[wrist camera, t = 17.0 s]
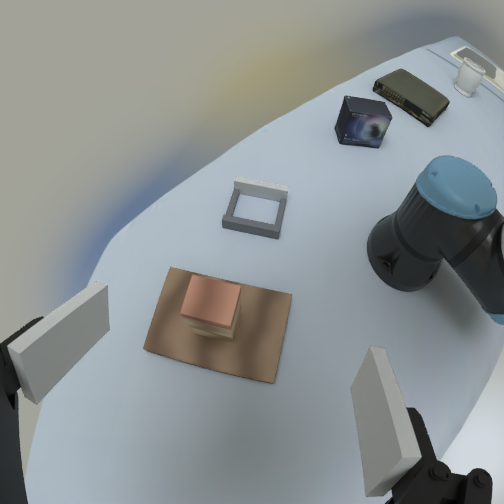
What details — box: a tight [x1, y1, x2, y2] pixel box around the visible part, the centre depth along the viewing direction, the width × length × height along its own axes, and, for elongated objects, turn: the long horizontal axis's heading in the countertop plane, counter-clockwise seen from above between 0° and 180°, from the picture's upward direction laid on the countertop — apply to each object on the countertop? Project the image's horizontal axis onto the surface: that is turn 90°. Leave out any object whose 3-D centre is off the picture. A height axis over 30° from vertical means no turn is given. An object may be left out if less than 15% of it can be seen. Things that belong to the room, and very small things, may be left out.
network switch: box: [373, 69, 450, 127], centre depth 78 cm, size 23×23×5 cm
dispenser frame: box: [222, 176, 289, 239], centre depth 55 cm, size 10×9×4 cm
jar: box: [454, 58, 485, 97], centre depth 83 cm, size 11×10×15 cm
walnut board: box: [143, 267, 292, 384], centre depth 46 cm, size 20×14×2 cm
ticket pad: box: [180, 275, 241, 343], centre depth 40 cm, size 6×5×11 cm
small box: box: [335, 96, 392, 148], centre depth 63 cm, size 11×6×10 cm, turn 91°
